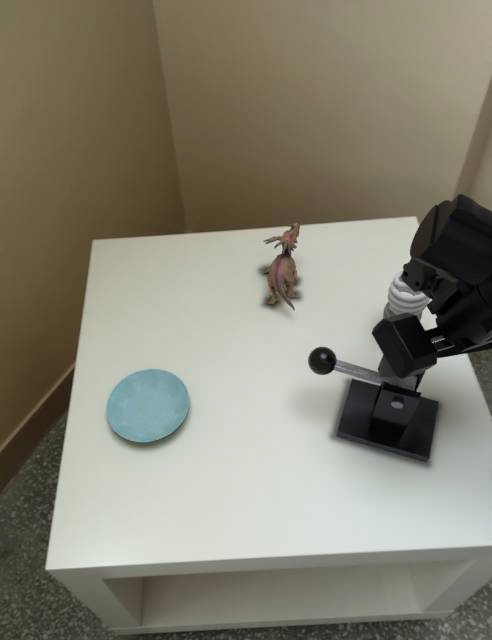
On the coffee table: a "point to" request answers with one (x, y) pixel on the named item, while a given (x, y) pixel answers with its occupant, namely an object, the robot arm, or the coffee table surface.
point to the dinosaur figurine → (283, 266)
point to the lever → (352, 369)
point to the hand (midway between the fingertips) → (409, 363)
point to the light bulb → (404, 299)
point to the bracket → (389, 418)
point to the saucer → (147, 405)
